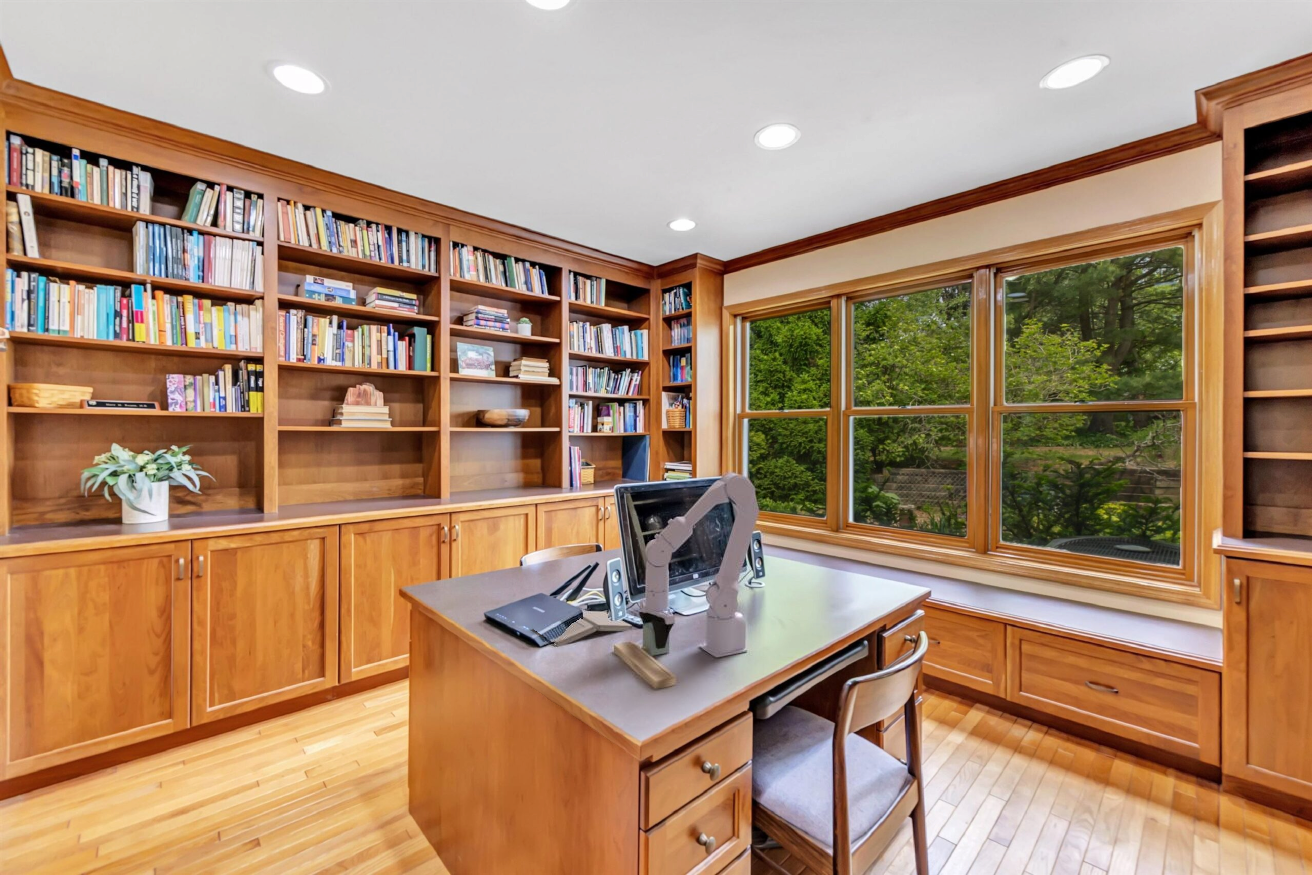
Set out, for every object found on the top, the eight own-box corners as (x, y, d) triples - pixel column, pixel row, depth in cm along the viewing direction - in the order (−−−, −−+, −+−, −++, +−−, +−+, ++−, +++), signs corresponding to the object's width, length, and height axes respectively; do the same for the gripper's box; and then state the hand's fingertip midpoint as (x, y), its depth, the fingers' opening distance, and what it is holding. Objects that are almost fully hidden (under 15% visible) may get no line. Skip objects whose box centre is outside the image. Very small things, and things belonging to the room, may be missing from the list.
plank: (632, 648, 137) (632, 640, 137) (675, 684, 118) (675, 676, 117) (613, 651, 135) (614, 644, 135) (654, 689, 115) (655, 680, 115)
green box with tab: (660, 645, 139) (661, 620, 139) (669, 652, 135) (669, 625, 135) (638, 649, 136) (638, 623, 136) (646, 656, 132) (646, 629, 132)
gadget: (604, 616, 163) (604, 603, 163) (632, 630, 151) (633, 617, 151) (532, 631, 149) (532, 618, 149) (557, 649, 137) (557, 634, 137)
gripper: (629, 583, 140) (628, 636, 140) (656, 599, 127) (655, 657, 127) (654, 580, 143) (653, 632, 143) (682, 595, 130) (681, 652, 131)
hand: (655, 644), depth 136 cm, fingers closed on green box with tab, 4 cm apart
